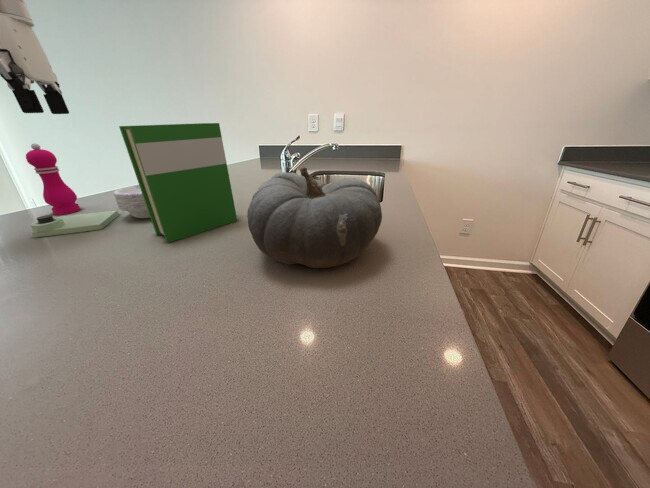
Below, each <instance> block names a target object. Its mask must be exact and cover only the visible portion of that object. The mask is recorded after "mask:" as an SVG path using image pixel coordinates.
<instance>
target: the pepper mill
mask: <svg viewBox="0 0 650 488" xmlns="http://www.w3.org/2000/svg"><path fill="white" fill-rule="evenodd" d="M30 148H31V150H29V151H27V152H26V154H25V159H26V162H27V163H28V164H29V165H30V166H32V167H34V168H33V170H34V171H35V174H37V175H38V176H39V177H40V179H41V181H42V185H43V191H42V197H43V200H44V202H45V203H46V204H47V205H49V206H51V211H52V213H53V215H56V216H64V215H69V214H73V213H77V212H79V211H80V210H81V207H80V205H79V203H77V202H76V201H77V200H78V196H77V194H76V192H75V191H74V190H73V188H70V187H69V185H67V183H65V181H64V180H63V179H62V177H61V175H60V169H59V166H57V163H58V160H57V157H56V155H55V154H54V153H53V152H51V151H49V150H47V149H41V145H39V144H38V143H31V144H30Z"/></svg>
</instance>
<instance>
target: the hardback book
mask: <svg viewBox="0 0 650 488" xmlns="http://www.w3.org/2000/svg"><path fill="white" fill-rule="evenodd" d="M220 126H221V125H220V123H219V122H207V123H206V122H202V123H201V122H199V123H198V122H197V123H174V124H173V123H172V124H170V123H169V124H146V125H144V124H143V125H142V124H141V125H119V126H118V128H119V130H120V133H121V136H122V139H123V142H124V145H125V148H126V152H127V153H128V156H129V160H130V162H131V163H130V164H131V165H132V168H133V171H134V174H135V177H136V180H137V183H138V185H139V186H140V189H141V192H142V194H143V197H144V200H145V203H146V206H147V209H148V212H149V215H150V218H149V219H150V220H151V223H152V226H153V230H154V232H155V235H156V236H164V238H165V241H166V243H168V244H170V243H172V242H176V241H179V240H182V239H186V238H189V237H192V236H194V235H198V234H201V233H203V232H207V231H210V230H213V229H216V228H219V227H223V226H225V225H229V224H231V223H234V222H237V221H238V217H237V216H238V215H237V211H236V206H235V201H234V195H233V190H232V184H231V180H230V174H229V169H228V164H227V163H228V162H227V158H226V152H225V147H224V142H223V137H222V131H221V127H220Z"/></svg>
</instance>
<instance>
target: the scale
mask: <svg viewBox="0 0 650 488" xmlns="http://www.w3.org/2000/svg"><path fill="white" fill-rule="evenodd" d="M119 215H120V214H119V211H118V210H117V209H116V210H108V211H106V210H105V211H99V212H88V213H79V214H78V213H77V214H70V215H69V214H68V215H58V216H57V217H53V218H54V220H55V221H53V222H49V223H45V224H39V222H38V221H37V220H35V221H33V222H32V223H30V227H31V229H32V231H31V232H30V233H31V235H32V237H33V238H43V237H49V236H50V237H51V236H57V235H58V236H59V235H66V234H67V235H68V234H75V233H76V234H77V233H83V232H91V231H99V230H103V229H104V228H105V227H106V226H108V225H109V224H110V223H111V222H112V221H114V220H115V219H116V218H117V217H118V216H119Z"/></svg>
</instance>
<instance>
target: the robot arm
mask: <svg viewBox="0 0 650 488" xmlns="http://www.w3.org/2000/svg"><path fill="white" fill-rule="evenodd" d="M31 16H32V15H31V14H30V12H29V9H28V7H27V4H26V2H25V0H0V77H1V78H2V79H3V80H4V81H5V82H6V84H7V85H6V86H7V87H8V89H10V90H11V91H12V94H13V95H14V97H15V100H16V102H17V104H18V106H19V108H20V110H21V112H22V113H24V114H44V112H45V111H44V109H43V106H42V104H41V102H40V100H39V97H38V96H37V94H36V91H35V90H34V89H31V88H32V85H33V84H35V83H36V85H38V87H39V89H41V91H43V97H44V100H45V102H46V104H47V106H48V109H49V110H50V113H51V114H52V115H68V114H69V115H70V110H69V109H68V106H67V104H66V101H65V99H64V96H63V92H62V89H61V88H60V87H61V86H60V82H59V81H58V77H57V74H56V73H55V72H54V70H53V68H52V65H51V63H50V61H49V58H48V56H47V54H46V52H45V50H44V48H43V46H42V44H41V42H40V40H39V38H38V36H37V34H36V32H35V30H34V27H35V23H34V21H33V18H32V17H31Z"/></svg>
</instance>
